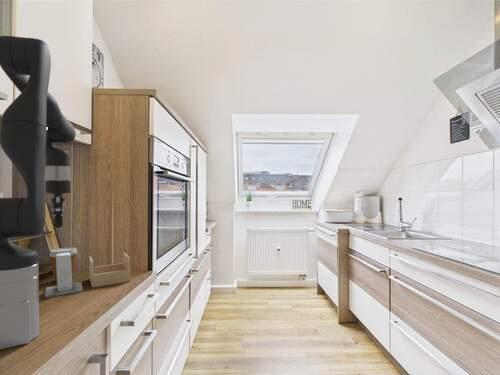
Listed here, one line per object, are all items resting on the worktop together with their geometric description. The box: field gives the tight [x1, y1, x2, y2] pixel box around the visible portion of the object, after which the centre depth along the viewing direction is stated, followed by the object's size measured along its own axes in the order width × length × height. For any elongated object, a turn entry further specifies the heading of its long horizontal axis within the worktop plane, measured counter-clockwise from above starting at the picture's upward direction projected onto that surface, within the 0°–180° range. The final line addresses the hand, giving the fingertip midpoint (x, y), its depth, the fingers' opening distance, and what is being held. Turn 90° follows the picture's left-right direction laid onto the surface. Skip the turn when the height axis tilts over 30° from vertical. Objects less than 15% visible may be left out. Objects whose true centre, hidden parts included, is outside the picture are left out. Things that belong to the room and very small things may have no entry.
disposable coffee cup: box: [49, 247, 78, 283], centre depth 119 cm, size 10×10×12 cm
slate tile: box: [44, 281, 84, 299], centre depth 106 cm, size 11×11×1 cm
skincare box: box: [56, 252, 73, 291], centre depth 106 cm, size 6×4×12 cm
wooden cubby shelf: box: [88, 252, 131, 289], centre depth 117 cm, size 13×13×9 cm
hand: (58, 226), depth 105 cm, fingers open, 8 cm apart
